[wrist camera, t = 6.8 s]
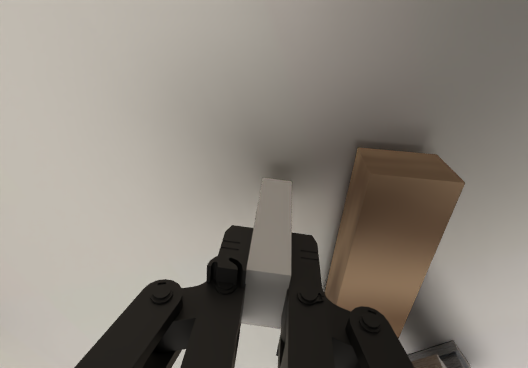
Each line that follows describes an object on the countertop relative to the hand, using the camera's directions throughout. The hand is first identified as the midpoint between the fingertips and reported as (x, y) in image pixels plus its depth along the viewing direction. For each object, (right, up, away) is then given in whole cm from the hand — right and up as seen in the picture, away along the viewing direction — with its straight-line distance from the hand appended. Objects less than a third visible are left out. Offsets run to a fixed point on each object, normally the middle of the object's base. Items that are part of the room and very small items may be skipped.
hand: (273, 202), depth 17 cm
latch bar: (+6, -7, +5) cm, 10 cm away
